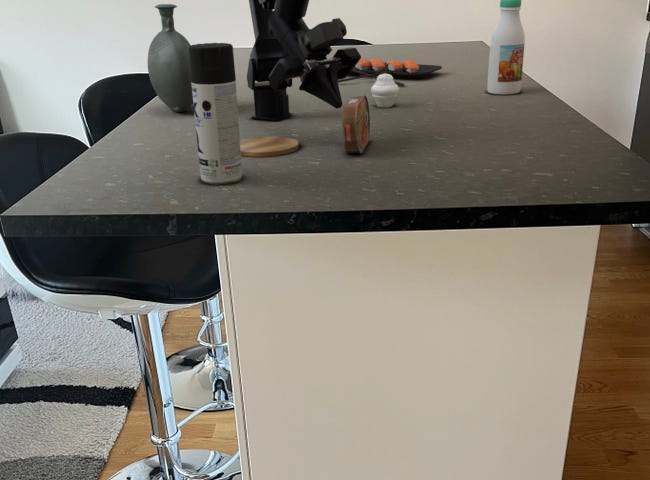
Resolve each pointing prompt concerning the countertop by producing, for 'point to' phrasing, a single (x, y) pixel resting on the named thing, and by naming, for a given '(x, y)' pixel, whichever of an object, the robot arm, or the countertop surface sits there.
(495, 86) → the milk bottle
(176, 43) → the flask
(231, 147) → the spray can
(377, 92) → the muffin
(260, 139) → the wooden coaster
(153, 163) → the countertop surface
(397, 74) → the sushi plate
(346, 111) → the tin
